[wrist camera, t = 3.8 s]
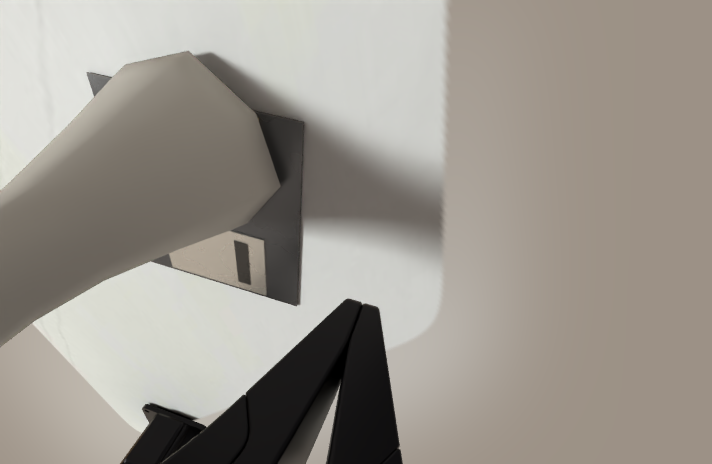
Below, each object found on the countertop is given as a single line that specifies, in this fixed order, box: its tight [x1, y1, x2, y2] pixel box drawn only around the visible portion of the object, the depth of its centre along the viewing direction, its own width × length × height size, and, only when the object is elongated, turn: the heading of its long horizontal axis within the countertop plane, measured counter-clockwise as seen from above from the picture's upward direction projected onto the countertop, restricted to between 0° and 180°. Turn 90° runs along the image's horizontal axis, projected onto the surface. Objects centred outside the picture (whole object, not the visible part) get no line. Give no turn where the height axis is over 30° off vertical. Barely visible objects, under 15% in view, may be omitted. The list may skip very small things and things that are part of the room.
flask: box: [0, 51, 281, 347], centre depth 10 cm, size 7×7×10 cm
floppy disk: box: [87, 72, 304, 306], centre depth 16 cm, size 10×9×1 cm
